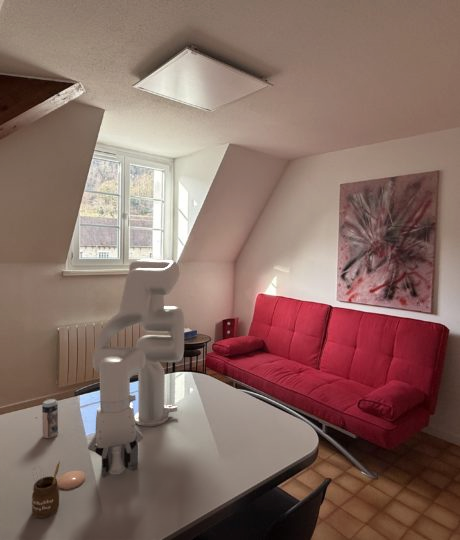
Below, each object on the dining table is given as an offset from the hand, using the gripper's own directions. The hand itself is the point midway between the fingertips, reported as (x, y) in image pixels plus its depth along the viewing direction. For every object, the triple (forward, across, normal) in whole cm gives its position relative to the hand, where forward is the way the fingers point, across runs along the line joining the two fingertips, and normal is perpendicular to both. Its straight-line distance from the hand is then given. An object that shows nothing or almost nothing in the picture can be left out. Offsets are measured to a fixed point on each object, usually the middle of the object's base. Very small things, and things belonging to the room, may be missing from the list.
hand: (116, 466), depth 99 cm
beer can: (+6, +19, -34) cm, 39 cm away
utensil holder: (+5, +17, +4) cm, 18 cm away
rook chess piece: (+1, 0, 0) cm, 1 cm away
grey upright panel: (+5, -1, -7) cm, 9 cm away
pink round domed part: (+5, +12, -6) cm, 14 cm away
